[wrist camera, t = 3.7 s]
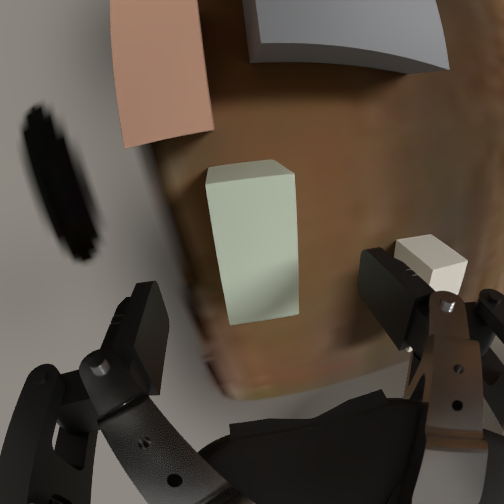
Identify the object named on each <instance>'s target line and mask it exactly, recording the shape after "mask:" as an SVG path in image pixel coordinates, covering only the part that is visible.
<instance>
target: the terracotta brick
mask: <svg viewBox="0 0 504 504" xmlns="http://www.w3.org/2000/svg"><path fill="white" fill-rule="evenodd" d="M110 27H111V47H112V60H113V71H114V81H115V89H116V97H117V105H118V112H119V118H120V125H121V131H122V136H123V142H124V148H125V149H127V148H131V147H135V146H139V145H143V144H147V143H151V142H155V141H160V140H164V139H169V138H173V137H178V136H183V135H188V134H193V133H199V132H205V131H211V130H214V129H215V128H214V121H213V114H212V107H211V100H210V93H209V85H208V78H207V70H206V62H205V55H204V47H203V39H202V31H201V22H200V14H199V7H198V0H110Z"/></svg>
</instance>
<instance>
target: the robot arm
mask: <svg viewBox="0 0 504 504" xmlns="http://www.w3.org/2000/svg"><path fill="white" fill-rule="evenodd" d="M358 291H359V294H360V297H361V298H362V300H363V301H364V302H365V304H366V305H367V306H368V308H369V309H370V310H371V312H372V313H373V315H374V316H375V317H376V319H377V320H378V321H379V323H380V324H381V326H382V327H383V328H384V330H385V331H386V332H387V334H388V335H389V337H390V338H391V340H392V341H393V342H394V344H395V345H396V347H397V348H398V350H399V351H400V350H403V349H406V348H409V347H411V348H412V349H413V350H412V353H411V356H410V362H409V368H408V374H407V380H406V385H405V391H404V395H403V398H386V396H385V395H384V393H383V391H382V389H381V390H378V391H375V392H372V393H369V394H366V395H363V396H360V397H357V398H354V399H350V400H348V401H346V402H344V403H342V404H340V405H338V406H337V407H335V408H333V409H331V410H329V411H327V412H325V413H323V414H321V415H320V416H317V417H315V418H312V419H263V420H257V421H250V422H243V423H236V424H235V423H234V424H229V427H230V435H227V436H225V437H222V438H220V439H217V440H215V441H213V442H212V443H210V444H208V445H207V446H205V447H204V448H202V449H201V450H200V451H199V452H198V453H197V452H196V451H195V450H194V449H193V448H192V447H191V446H190V444H189V443H188V442H187V441H186V440H185V439H184V438H183V437H182V436H181V435H180V434H179V432H178V431H177V430H176V429H175V428H174V427H173V426H172V424H171V423H170V422H169V421H168V420H167V419H166V417H165V416H164V415H163V414H162V412H161V411H160V410H159V409H158V408H157V406H156V405H155V404H154V403H153V401H152V400H151V399H150V397H149V395H160V389H161V381H162V373H163V366H164V358H165V352H166V345H167V338H168V333H169V318H168V314H167V311H166V308H165V305H164V302H163V299H162V295H161V292H160V289H159V286H158V284H157V282H156V281H149V282H142V283H137V284H136V286H135V288H134V290H133V293H132V295H131V297H126V298H125V299H124V300H123V301H122V302H121V303H120V304H119V305H118V307H117V309H116V311H115V314H114V317H113V318H112V321H111V324H110V326H109V328H108V331H107V333H106V336H105V338H104V340H103V343H102V346H101V348H100V349H99V350H96V351H93V352H92V353H90V354H88V355H87V356H86V357H85V358H84V359H83V360H82V362H81V364H80V366H79V370H75V371H72V372H68V373H64V374H60V373H59V371H58V370H57V368H56V367H55V366H54V365H51V364H43V365H40V366H38V367H36V368H35V369H34V370H32V371H31V373H30V374H29V375H28V377H27V379H26V382H25V384H24V386H23V389H22V391H21V394H20V397H19V399H18V402H17V405H16V407H15V410H14V412H13V415H12V418H11V421H10V424H9V427H8V430H7V433H6V437H5V440H4V444H3V447H2V451H1V455H0V504H90V502H91V486H92V474H93V464H94V455H95V447H96V440H97V434H98V430H101V431H102V433H103V435H104V437H105V438H106V440H107V442H108V444H109V446H110V447H111V449H112V451H113V452H114V454H115V456H116V458H117V459H118V461H119V462H120V464H121V465H122V467H123V469H124V470H125V472H126V473H127V475H128V476H129V478H130V479H131V481H132V482H133V484H134V485H135V486H136V488H137V489H138V491H139V492H140V493H141V495H142V496H143V497H144V499H145V500H146V501H147V503H148V504H504V434H503V435H500V434H497V433H494V432H491V431H489V430H486V429H483V396H484V398H485V400H486V401H487V403H488V404H489V406H490V408H491V409H492V411H493V412H494V414H495V416H496V418H497V420H498V421H499V423H500V425H501V426H502V428H503V433H504V365H503V364H502V362H501V361H500V360H499V358H498V357H497V356H496V354H495V353H494V352H493V351H492V349H491V348H490V345H491V344H492V342H493V340H494V338H495V336H496V335H497V337H498V338H499V339H500V340H501V341H502V342H503V344H504V295H503V294H501V293H500V292H498V291H496V290H493V289H484V290H482V291H481V292H480V293H479V296H478V299H477V302H467V303H464V301H463V300H462V299H461V298H460V297H459V296H458V295H456V294H454V293H452V292H449V291H435V290H434V289H433V288H432V287H430V286H429V285H428V284H427V283H426V282H425V281H424V280H423V279H422V278H421V277H420V276H418V275H417V274H416V273H415V272H414V271H413V270H411V268H410V267H408V266H407V265H406V264H405V263H404V262H402V261H400V260H398V259H396V258H394V257H391V256H390V255H389V254H388V253H387V252H386V251H385V250H383V249H382V248H380V247H378V248H372V249H366V250H363V251H362V253H361V257H360V268H359V278H358ZM56 423H57V424H58V425H59V426H60V427H59V432H58V436H57V441H56V445H55V450H53V447H52V438H53V434H54V429H55V425H56Z"/></svg>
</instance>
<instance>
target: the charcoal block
mask: <svg viewBox="0 0 504 504" xmlns="http://www.w3.org/2000/svg"><path fill="white" fill-rule="evenodd" d="M242 4H243V12H244V20H245V28H246V37H247V45H248V54H249V63H266V62H312V63H331V64H343V65H353V66H362V67H369V68H376V69H383V70H389V71H394V72H400V73H405V74H412V73H421V72H431V71H444V70H449V63H448V56H447V50H446V44H445V39H444V34H443V29H442V24H441V20H440V16H439V12H438V8H437V5H436V1H435V0H242Z"/></svg>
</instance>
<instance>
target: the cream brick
mask: <svg viewBox="0 0 504 504" xmlns="http://www.w3.org/2000/svg"><path fill="white" fill-rule="evenodd" d="M394 258H396V259H398V260H400V261H402V262H404V263H405V264H406V265H407V266H408V267H410V268H411V270H413V271H414V272H415V273H416V274H417V275H418V276H420V277H421V278H422V279H423V280H424V281H425V282H426V283H427V284H428V285H429V286H430V287H432V288H433V289H434V290H435V291H449V292H452V293H454V294H456V295H458V293H459V290H460V287H461V283H462V280H463V276H464V273H465V269H466V266H467V262H468V260H466V259H465V258H464V257H462V256H461V255H460V254H458V253H457V252H455V251H454V250H453V249H451V248H450V247H449V246H447V245H446V244H444V243H443V242H441V241H440V240H438V239H437V238H436V237H434V236H433V235H431V234H429V235H423V236H417V237H411V238H405V239H398V240H396V245H395V253H394ZM406 350H407V352H410V351H412V350H413V349H412V348H411V347H409V348H406Z"/></svg>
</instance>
